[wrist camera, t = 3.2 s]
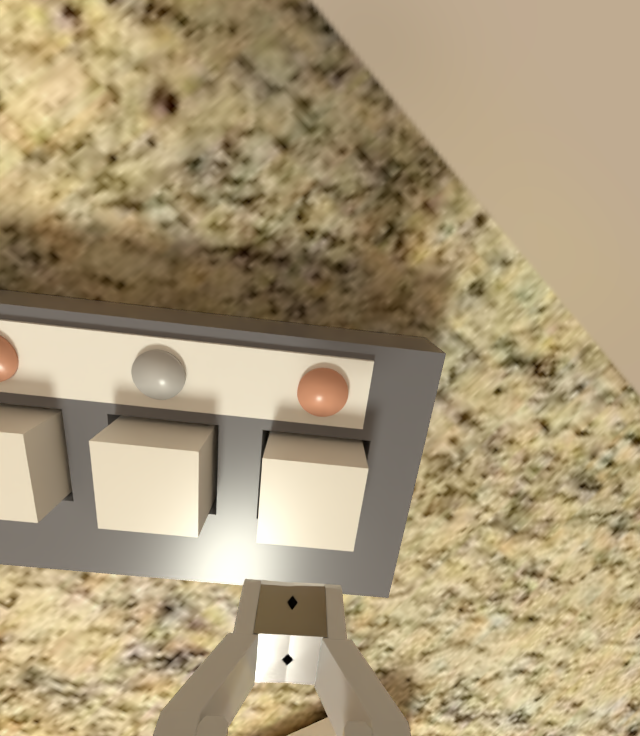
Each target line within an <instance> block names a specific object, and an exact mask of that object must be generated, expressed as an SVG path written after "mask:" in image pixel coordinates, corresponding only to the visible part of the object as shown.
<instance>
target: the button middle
mask: <svg viewBox="0 0 640 736" xmlns="http://www.w3.org/2000/svg"><path fill="white" fill-rule="evenodd" d="M218 435H219V425H211V424H201V423H191V422H181V421H172V420H162V419H152V418H142V417H132V416H123V415H121V416H120V417H118V418H117V419H116V420H115V421H113V422H112V423H111V424H110V425H108V426H107V427H106V428H104V429H103V430H102V431H101V432H99V433H98V434H97V435H96V436H94V437H93V438H92V439H91V440H89V447H90V456H91V466H92V475H93V485H94V495H95V504H96V514H97V523H98V529H109V530H120V531H131V532H142V533H153V534H164V535H175V536H186V537H197V538H198V537H199V534H200V532H201V530H202V528H203V525H204V523H205V521H206V518H207V516H208V514H209V512H210V509H211V507H212V505H213V502H214V500H215V498H216V495H217V472H218Z"/></svg>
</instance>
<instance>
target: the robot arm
mask: <svg viewBox="0 0 640 736" xmlns="http://www.w3.org/2000/svg"><path fill="white" fill-rule="evenodd" d="M254 682H276V683H296V684H308V685H315V686H314V687H315V689H316V691H317V694H318V696H319V698H320V700H321V703H322V705H323V707H324V709H325V711H326V714H327V716H328V718H329V720H330V722H331V725H332V727H333V729H334V731H335V733H336V736H411V733H410V728H409V724H408V721H407V720H406V718H405V717H404V715H403V714H402V712H401V711H400V709H399V708H398V706H397V705H396V704H395V702H394V701H393V699H392V698H391V696H390V695H389V693H388V692H387V690H386V689H385V687H384V686H383V685H382V683H381V682H380V680H379V679H378V677H377V676H376V674H375V673H374V671H373V670H372V668H371V667H370V665H369V664H368V663H367V661H366V660H365V658H364V657H363V655H362V654H361V652H360V651H359V649H358V648H357V646H356V645H355V644H354V642H353V641H352V640H349V639H347V634H346V624H345V615H344V605H343V595H342V588H341V586H340V585H331V584H319V583H299V582H293V583H290V582H279V581H268V580H262V581H261V580H255V579H245V581H244V583H243V588H242V593H241V597H240V602H239V607H238V612H237V617H236V622H235V627H234V631H233V633H228V634H227V635H226V636H225V637H224V638H223V640H222V641H221V642H220V643H219V644H218V645H217V647H216V648H215V649H214V650H213V651H212V652H211V654H210V655H209V656H208V657H207V658H206V659H205V661H204V662H203V663H202V664H201V665H200V666H199V668H198V669H197V670H196V671H195V672H194V673H193V675H192V676H191V677H190V678H189V679H188V680H187V682H186V683H185V684H184V685H183V686H182V687H181V689H180V690H179V691H178V692H177V693H176V694H175V696H174V697H173V698H172V699H171V700H170V701H169V703H168V704H167V705H166V706H165V707H164V708H163V710H162V711H161V713H160V716H159V719H158V722H157V725H156V728H155V731H154V734H153V736H228V727H229V725H230V724H231V722H232V720H233V719H234V717H235V715H236V714H237V712H238V710H239V709H240V707H241V706H242V704H243V702H244V701H245V699H246V697H247V696H248V694H249V692H250V691H251V689H252V688H253V686H254Z"/></svg>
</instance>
